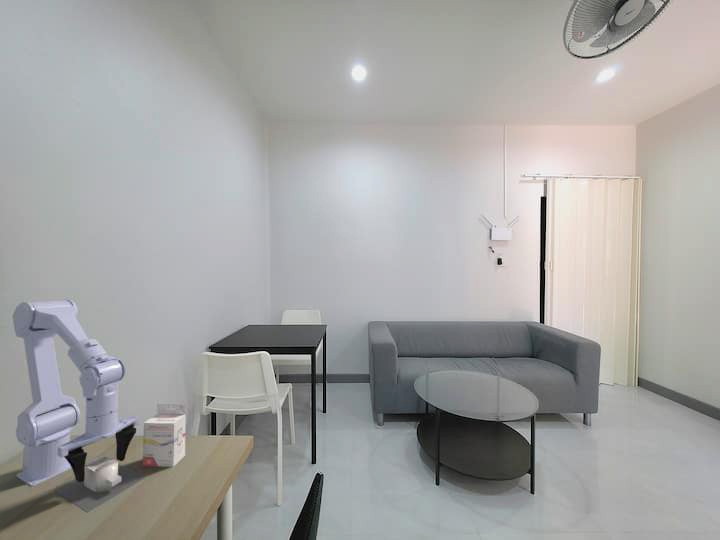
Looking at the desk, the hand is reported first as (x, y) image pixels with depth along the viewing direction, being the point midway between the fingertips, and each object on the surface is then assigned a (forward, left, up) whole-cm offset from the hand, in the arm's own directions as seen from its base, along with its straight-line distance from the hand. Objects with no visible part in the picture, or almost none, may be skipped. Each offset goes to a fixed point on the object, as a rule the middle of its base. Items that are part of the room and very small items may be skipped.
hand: (101, 469), depth 65 cm
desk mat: (0, 0, -4) cm, 4 cm away
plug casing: (+1, 0, -3) cm, 3 cm away
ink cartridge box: (+6, +11, -4) cm, 13 cm away
